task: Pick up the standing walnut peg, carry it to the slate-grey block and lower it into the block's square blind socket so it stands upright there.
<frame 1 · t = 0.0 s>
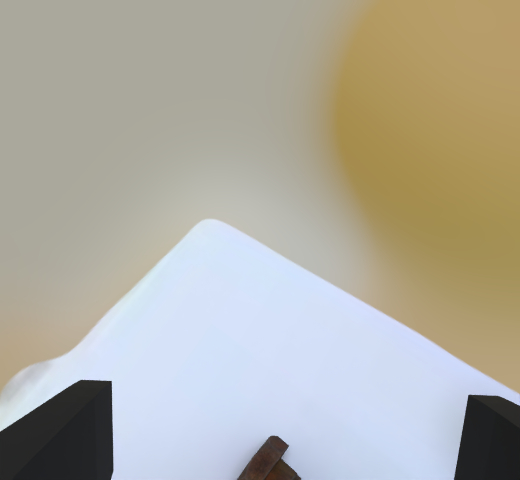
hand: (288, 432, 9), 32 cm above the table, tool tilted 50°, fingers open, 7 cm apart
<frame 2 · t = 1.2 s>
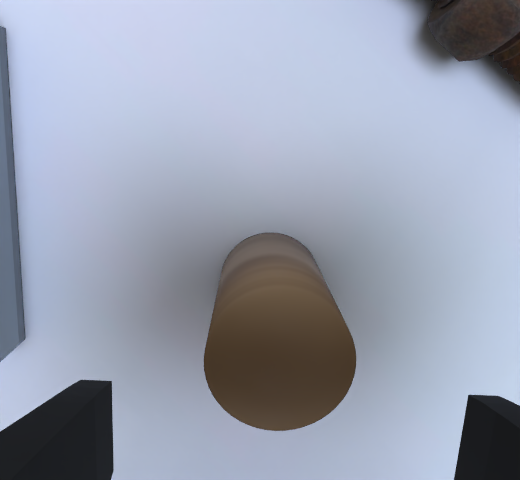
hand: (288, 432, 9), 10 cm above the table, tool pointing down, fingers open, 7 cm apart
peg: (269, 280, 19), on the table
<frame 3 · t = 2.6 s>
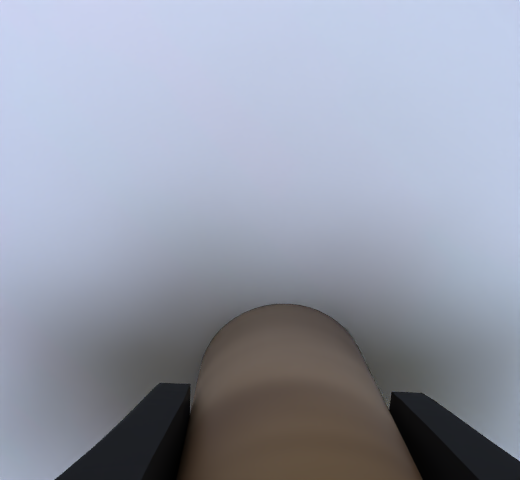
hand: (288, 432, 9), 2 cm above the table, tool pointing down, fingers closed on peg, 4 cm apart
peg: (282, 382, 11), on the table, touching gripper
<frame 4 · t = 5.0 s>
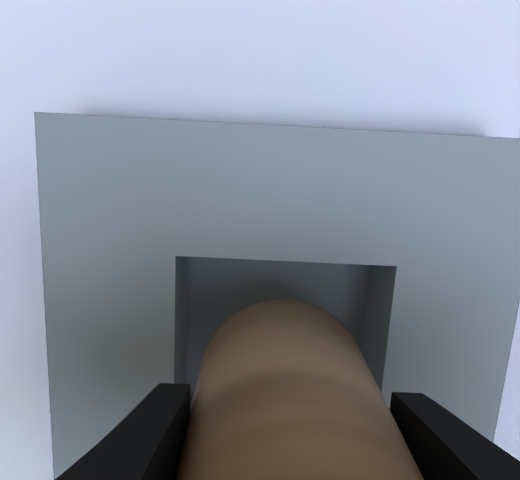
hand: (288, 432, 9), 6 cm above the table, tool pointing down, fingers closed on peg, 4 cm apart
peg: (281, 376, 12), point 4 cm above the table, touching gripper
socket block: (274, 317, 15), on the table
when the fingers open (3 cm above the table, at t = 5.9 s): peg stays where it is, resting on socket block.
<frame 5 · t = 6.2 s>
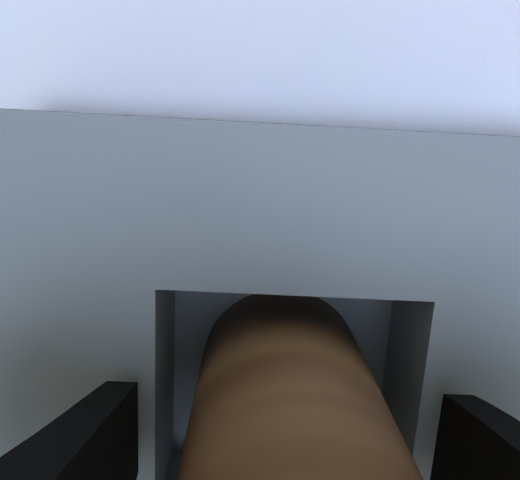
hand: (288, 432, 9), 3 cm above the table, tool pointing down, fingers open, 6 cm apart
peg: (280, 361, 12), point 1 cm above the table, touching socket block
socket block: (278, 353, 13), on the table
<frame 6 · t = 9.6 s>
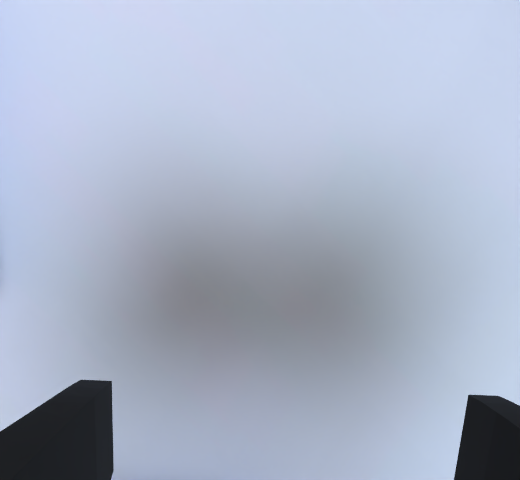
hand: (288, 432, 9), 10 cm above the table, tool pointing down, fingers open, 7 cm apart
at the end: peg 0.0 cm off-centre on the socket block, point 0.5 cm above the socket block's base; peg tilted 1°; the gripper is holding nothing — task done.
